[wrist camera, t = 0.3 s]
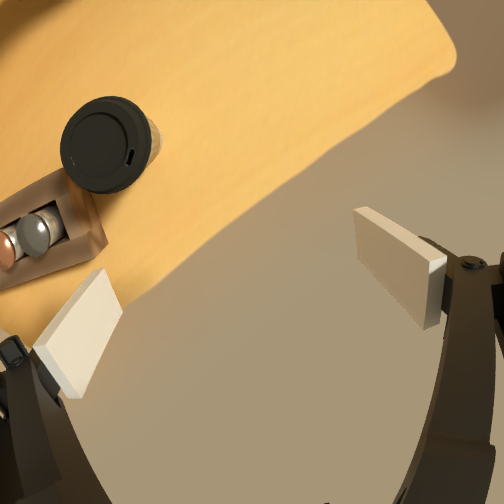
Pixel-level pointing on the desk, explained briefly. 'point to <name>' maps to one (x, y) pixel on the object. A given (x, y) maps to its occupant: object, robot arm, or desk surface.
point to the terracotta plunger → (9, 247)
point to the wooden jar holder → (74, 218)
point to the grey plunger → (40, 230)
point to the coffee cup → (108, 144)
